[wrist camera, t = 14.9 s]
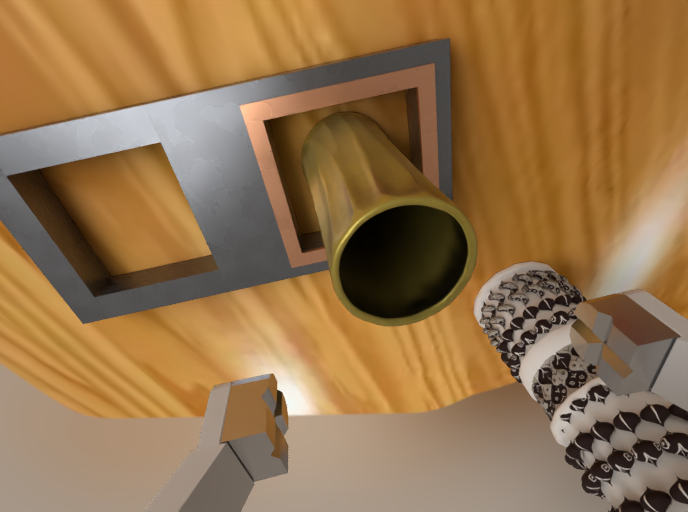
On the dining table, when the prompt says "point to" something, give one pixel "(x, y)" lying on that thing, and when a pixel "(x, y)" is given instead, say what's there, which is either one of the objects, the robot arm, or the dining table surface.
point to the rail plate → (215, 176)
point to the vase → (384, 225)
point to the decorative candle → (585, 394)
